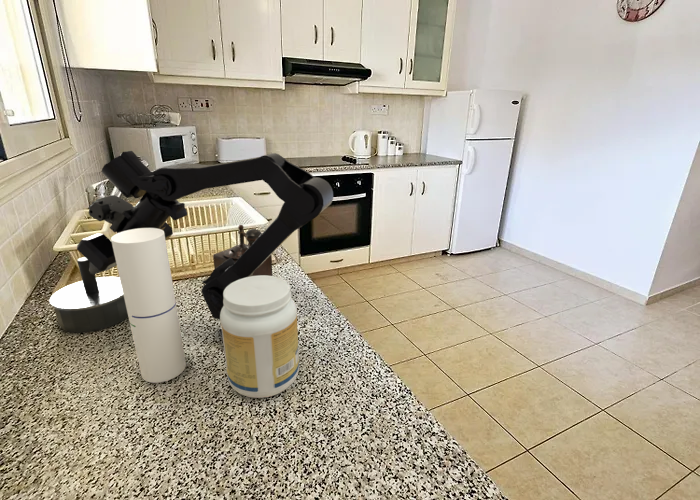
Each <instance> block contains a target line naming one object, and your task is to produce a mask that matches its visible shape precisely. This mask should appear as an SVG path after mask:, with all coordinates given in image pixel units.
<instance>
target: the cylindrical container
mask: <svg viewBox="0 0 700 500" xmlns="http://www.w3.org/2000/svg"><path fill="white" fill-rule="evenodd" d="M110 241H111V242H112V246H113V250H114V254H115V259H116V263H117V266H116V267H117V271H118V277H120V281H121V286H122V290H123V295H124V299H125V304H126V308H127V313H128V317H127V318H128V321H129V326H130V331H131V336H132V340H133V343H134V344H133V345H134V349H135V353H136V357H137V362H138V366H139V371H140V375H141V378H142V380H144V381H145V382H147V383H153V384H158V383H165V382H168V381H170V380H173V379H175V378H176V377H178V376H180V375H181V374H182V373H183V372H184V371H185V369H186V367H187V361H186V356H185V355H186V354H185V349H184V343H183V342H184V341H183V336H182V331H181V325H180V319H179V313H178V308H177V307H178V306H177V301H176V296H175V290H174V283H173V276H172V271H171V265H170V264H171V263H170V259H169V253H168V246H167V240H165V234H164V231H163V230H161V229H157V228H138V229H131V230H127V231H123V232H120V233H117V232H116V233H115V234H113V235H112V236H111V237H110Z"/></svg>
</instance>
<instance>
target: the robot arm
mask: <svg viewBox="0 0 700 500" xmlns="http://www.w3.org/2000/svg"><path fill="white" fill-rule="evenodd" d="M101 174H102V175H103V176H104V177H105V178H106V180H108V181H109V182H110V183H111V184H112V185H113V186H114V187H115V188H116V189H117V191H119V192H120V193H121V194H122V196H124V197H125V198H126V199H128V198H129V199H130V198H134V199H139V198H140V199H139V200H138V201H137V203H136V204H135V206H134V205H133V204H132V203H130V202H128V201H127V200H125V199H123V198H121V197H120V196H117V195H114V194H111V195H106V196H103V197H100V198H97V199H96V200H94V201H92V203H91V204H90V205H88V215H89V216H90V217H91V218H93V219H95V220H97V221H98V222H102V221H105V222H107V223H108V224H110V226H109V229H110V230H111V232H113V233H116V234H117V233H120V232H123V231H127V230H131V229H138V228H157V229H161V230H163V231H164V234H165V240H166V241H167V240H169V239H170V238H171V237H172V236H173V234H174V233H173V228H172V227H171V226H170V225H169V223H167V221H168V220H169V219H170V218H171V219H172V220H173V221H178V220H180V219H182V218H185V217H187V216H188V211H187V209H186V207H185V206H186V204H185V202H180V201H179V199H182V198H185V197H188V196H191V195H194V194H196V193H199V192H202V191H204V190H207V189H213V188H219V187H227V186H233V185H239V184H246V183H253V182H259V181H263V182H264V183H265V184H267V186H269V188H270V189H271V190H272V191H273V192H274V194H275V195H276V197H278V199H280V200H281V201H282V202H283V204H282V206H281V207H280V210H279V212H278V215H277V217H276V218H275V219H274V220H272V222H271V223H270V225H269V226H268V227H267V228H266V229H265V230H263V232H261V233H262V234H261V235H260V236H259V237H258V238H257V239H256V241H255V242H254V243H253V244H252V245H251V246H250V247H249V248H248V249H247V250H246V251H245V252H244V253H243V254H242V255H241V257H240V258H239V259H238V260H237V261H236V262H234V260H233V259H232V258H231V257H230V258H229V259H228V260H226V261H225V262H223V263H222V264H221V265H219V266H218V267H217V268H215V269H213V270H212V272H211V273H210V275H209V276H207V277H206V278H205V279H204V280H202V284H203V286H202V288H201V293H202V297H203V299H204V301H205V304H206V306H207V308H208V310H209V311H210V314H211V316H212V318H213V319H215V320H219V321H220V313H221V310H222V308H223V306H224V304H223V299H224V297H223V292H224V290H225V288H226V287H227V286H228V285H229V284H231V283H233V282H234V281H237V280H239V279H242V278H246V277H251V276H252V275H253V273H254V271H255V270H256V269H257V268H258V267H259V266H260V265H261V264H262V263H263V262H264V261H265V260H266V259H267V258H268V257H269V256H270V255H271V254H273V253H274V252H276V251H277V249H278V248H279V247H280V246H282V244H283V243H284V242H286V240H287V239H289V238H290V236H291V235H292V234H294V232H296V231H298V230H299V229H300V228H302V227H304V226H306V225H307V224H308V223H310V222H311V221H312V220H314V219H315V218H317V217H318V216H319V215H320V214H321V213H323V212H324V211H325V210H326V209H327V208H328V207H329V206H330V205H332V203H333V200H334V191H333V188H332V186H331V184H330V183H329V182H328V181H327V180H325V179H324V178H322V177H316V176H314V175H313V174H311V173H310V172H308V170H305V169H304V168H301V167H300V166H298V165H296V164H294V163H292V162H291V161H289V160H287V159H286V158H284V157H283V155H280V154H279V153H276V152H271V153H268V154H263V155H260V156H257V157H250V158H244V159H240V160H234V161H228V162H221V163H216V164H200V163H185V162H184V163H178V164H174V165H169V166H164V167H160V168H157V169H155V170H154V171H152V170H150V169H149V168H148V167H147V166H146V164H144V163H143V162H142V161H141V159H140V158H139V157H138V155H137V154H136V153H135V152H134V151H133V150H126V151H122V152H121V153H120V155H118V156H116V157H114V158H113V159H111V160H110V161H108V162H107V163H105V164H104V165H103V167H102V168H101ZM76 250H77V251H78V252H79V253H80V254H81V255H82V256H83V257H86V258H87V259H88V260H89V261H90V267H89V271H90V272H91V273H92V274H93V275H94V274H95V275H97V274H99V273H102V272H103V273H104V272H105V271H109V270H111V269H113V268H115V267H117V263H116V259H115V254H114V250H113V246H112V241H111V239H110V238H108V237H107V236H106V235H105V234H104V233H95V234H92V235H89V236H88V237H84V238H82V239H81V240H80V241H79V242H78V244H77V245H76ZM218 334H219V336H220V338H221V342H223V337H222V329H221V328H219V330H218Z"/></svg>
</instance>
